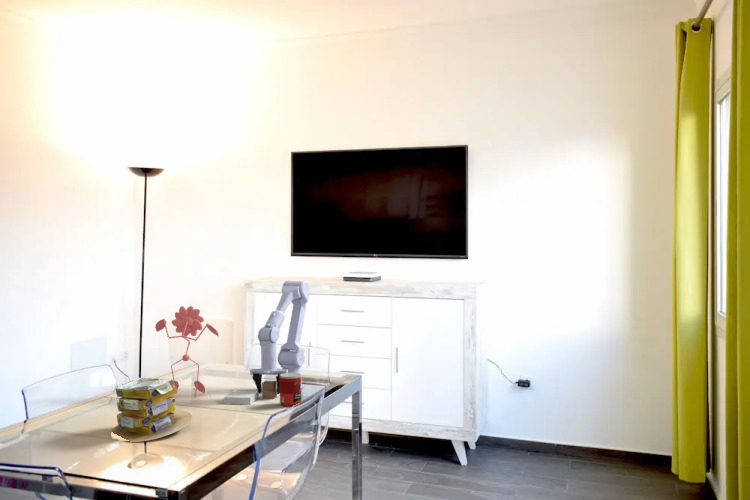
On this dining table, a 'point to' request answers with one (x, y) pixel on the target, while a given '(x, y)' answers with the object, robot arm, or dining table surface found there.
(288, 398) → the canned food
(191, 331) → the figurine
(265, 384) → the walnut block
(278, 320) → the robot arm
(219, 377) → the dining table surface
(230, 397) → the grey plinth
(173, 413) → the stacked yellow food packages
